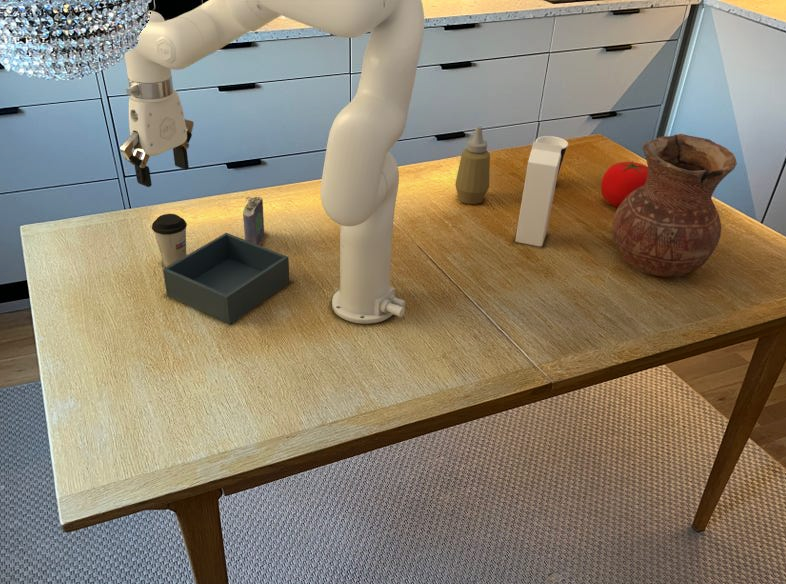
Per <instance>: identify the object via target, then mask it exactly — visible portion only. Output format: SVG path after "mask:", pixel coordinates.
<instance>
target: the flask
mask: <svg viewBox="0 0 786 584" xmlns="http://www.w3.org/2000/svg"><path fill="white" fill-rule="evenodd" d="M247 201H248V202H247ZM245 202H247V203H246V205H245V207H244V208H243V212H242V216H243V217H242V218H243V219H242V220H243V230H244V240H246V241H249V242H252V243H254V244H257V245H259V246H261V242H263V239H264V237H265V236H266V234H265V220H264V201H263V197H261V196H254V197H252V196H251V197H250V196H247V197H246V198H245Z"/></svg>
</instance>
